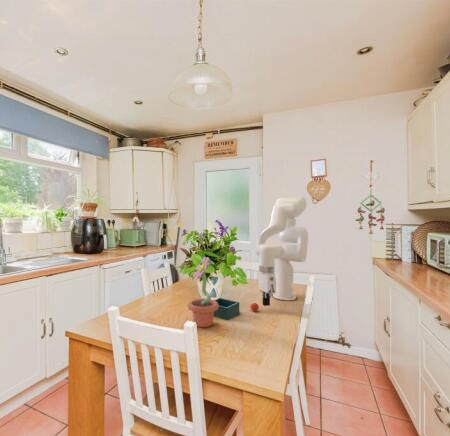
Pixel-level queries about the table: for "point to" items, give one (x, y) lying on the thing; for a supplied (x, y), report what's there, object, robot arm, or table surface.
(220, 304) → the box
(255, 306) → the ball
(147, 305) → the table surface
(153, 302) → the table surface
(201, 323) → the decorative flower
